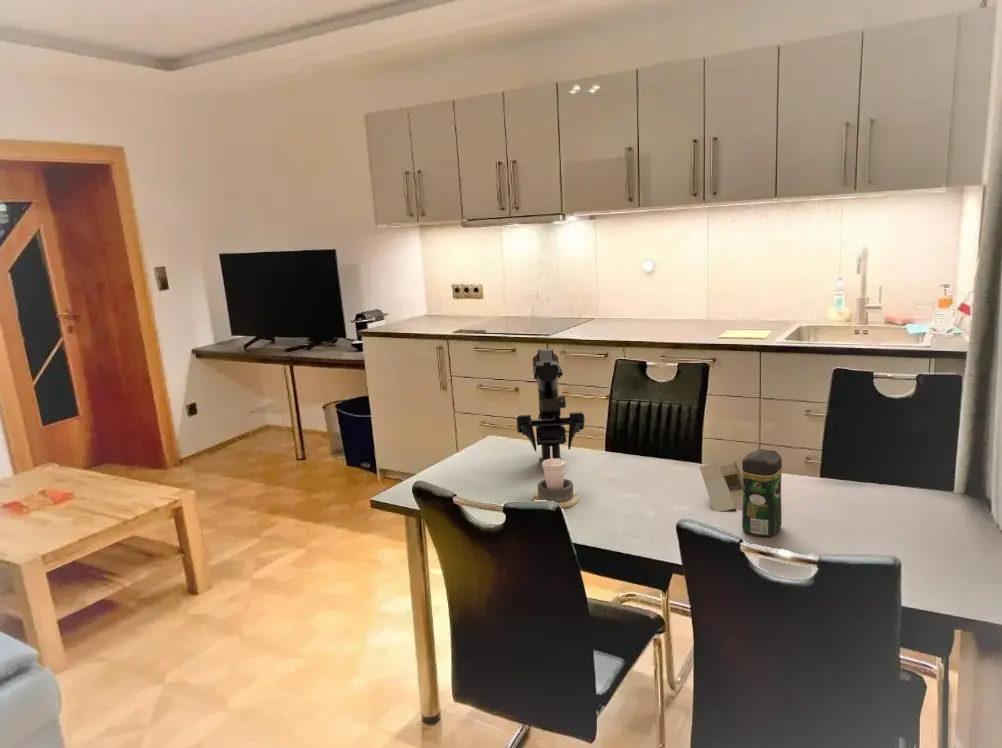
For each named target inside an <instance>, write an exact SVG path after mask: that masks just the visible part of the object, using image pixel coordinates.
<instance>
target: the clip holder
mask: <svg viewBox="0 0 1002 748" xmlns="http://www.w3.org/2000/svg"><path fill="white" fill-rule="evenodd" d="M579 497H580V496H579V494H578V493H577V492H576V491H575V490H574V483H573V481H572V480H570V479H567V478H564V483H563V489H556V490H553V489H547V485H546V480H545V479H543V480H540V481H539V482H538V483H537V492H536V493H534V495H533V498H532V499H533V501H534V500H547V501H554V502H557V503H558V504H559V505H560V506H561V508H562V509H566V508H570V507H574V506H575V505H577V503H578V502H579V499H580V498H579Z"/></svg>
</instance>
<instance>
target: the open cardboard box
mask: <svg viewBox="0 0 1002 748" xmlns="http://www.w3.org/2000/svg"><path fill="white" fill-rule="evenodd" d="M743 459H744V458H740V459H736V460H734V462H733V463H729V464H726V465H725V464H724V465H719V463H712V464H706V465H700V466H699V470H700V473H701V476H702V479H703V482H704V487H705V489H706V492H707V495H708V497H709V501H710V504H711V508H712V510H713V511H712V512H716V513H719V512H725V511H729V510H735V511H737V510H740V511H741V510H743V474H742V461H743Z"/></svg>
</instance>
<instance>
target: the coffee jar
mask: <svg viewBox="0 0 1002 748" xmlns="http://www.w3.org/2000/svg"><path fill="white" fill-rule="evenodd" d="M742 459H743V461H742V474H743V509H742V515H741V516H742V517H741V518H742V519H741V522H742V523H741V524H742V525H741V527H742V530H743V532H746V533H748V534H749V535H752V536H756V537H772V536H774V535H776V533H778V532H779V530H780V528H781V527H782V473H783V472H782V471H783V470H782V469H783V463H782V456H781V455H780V454H779V453H778V452H777V451H776V450H774V449H773V450H770V449H764V448H758V449H756V450H754V451H752V452H749V453H748V454H747V455H746V456H745V457H744V458H742Z"/></svg>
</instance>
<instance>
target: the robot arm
mask: <svg viewBox="0 0 1002 748" xmlns="http://www.w3.org/2000/svg"><path fill="white" fill-rule="evenodd" d="M553 350H554V349H552V348H539V349H537V354H536V355H534V356H533V357H532V370H533V371H532V373H533V376H534V377H533V379H534V380H535V381H536V382H537V393H538V409H539V414H538V418H534V419H532V415H531V414H522V415H521V414H519V415H517V417H516V427H517V433H518V434H522V435H523V436H526V438H527V439H528V440H529V442H530V443H531V446H532V448H533V449H534V451H535V452H537V446H540V448H541V457H539V458H538V460H539V462H540V463H541V464H542V462H543V461H544V460H547V459H551V458H550V446H552V456H553V458H558V459H562V457H561V445H565V443H567V442H568V444H567V448H568V451H569V450H571V448H572V442H573V440H574V438H575V435H576V433H579V432H580V431H581V430H584V429H585V414H584V413H583V412H582V411H580V412H579V411H577V412H569V417H561V414H562V412H561V409H566V407H567V406H566V405H567V403H566V395H559V388H558V387H559V379H561V377H563V369H562V368H561V367H560V364H559V356H558V355H557V354H555V352H554V351H553ZM566 425H567V426H568V441H567V429H566V428H565V426H566ZM533 427H535V432H536V433H535V432H534V428H533ZM535 434H536V436H535Z"/></svg>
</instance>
